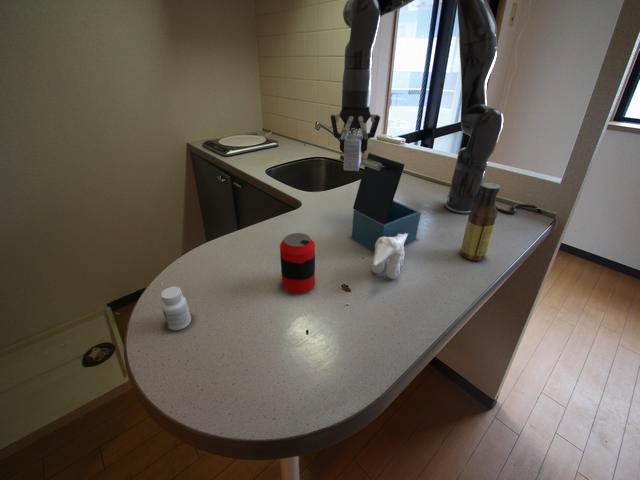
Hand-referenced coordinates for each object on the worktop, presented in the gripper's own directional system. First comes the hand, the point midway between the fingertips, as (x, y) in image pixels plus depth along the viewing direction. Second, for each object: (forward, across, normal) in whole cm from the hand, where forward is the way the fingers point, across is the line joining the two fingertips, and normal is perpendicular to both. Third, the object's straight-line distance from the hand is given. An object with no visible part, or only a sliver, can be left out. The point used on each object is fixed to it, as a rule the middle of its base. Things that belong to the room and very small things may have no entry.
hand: (352, 152), depth 92 cm
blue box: (+22, -9, +13) cm, 27 cm away
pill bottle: (+21, +38, +46) cm, 64 cm away
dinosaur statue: (+22, -8, +28) cm, 36 cm away
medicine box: (+5, 0, 0) cm, 5 cm away
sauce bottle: (+22, -31, +22) cm, 44 cm away
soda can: (+22, +15, +34) cm, 43 cm away
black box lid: (+5, -5, +16) cm, 17 cm away
